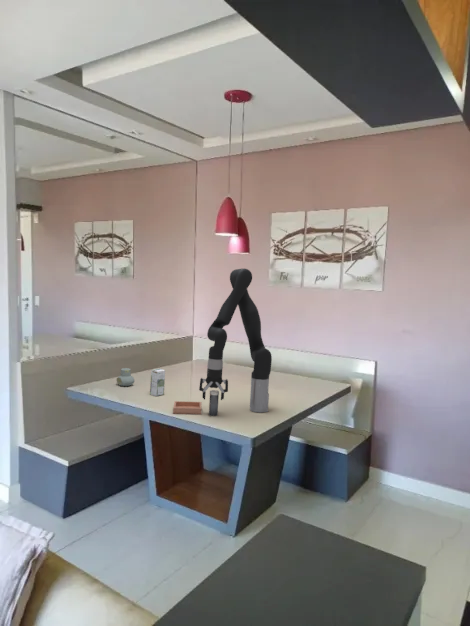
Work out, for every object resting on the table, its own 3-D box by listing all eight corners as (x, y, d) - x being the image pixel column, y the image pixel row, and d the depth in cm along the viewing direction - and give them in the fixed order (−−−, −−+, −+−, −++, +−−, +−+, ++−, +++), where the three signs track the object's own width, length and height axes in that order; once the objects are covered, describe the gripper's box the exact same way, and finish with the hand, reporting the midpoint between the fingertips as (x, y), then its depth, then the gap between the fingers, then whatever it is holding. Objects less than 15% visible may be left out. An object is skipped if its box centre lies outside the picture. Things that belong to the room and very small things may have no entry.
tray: (201, 407, 245) (201, 401, 245) (201, 414, 233) (201, 408, 233) (174, 406, 244) (174, 401, 243) (173, 413, 232) (173, 407, 232)
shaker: (217, 413, 236) (218, 390, 235) (218, 416, 231) (219, 392, 230) (208, 413, 235) (209, 390, 234) (208, 416, 231) (209, 392, 230)
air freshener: (114, 384, 285) (115, 368, 284) (127, 382, 291) (127, 366, 290) (123, 388, 277) (123, 371, 276) (135, 386, 283) (136, 370, 282)
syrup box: (157, 392, 270) (158, 368, 269) (164, 394, 266) (165, 369, 265) (149, 394, 265) (150, 369, 264) (156, 396, 262) (157, 371, 260)
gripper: (228, 366, 236) (226, 398, 237) (200, 365, 235) (198, 396, 236) (229, 369, 228) (227, 402, 230) (200, 368, 227) (198, 400, 229)
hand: (212, 399), depth 233 cm, fingers open, 8 cm apart
